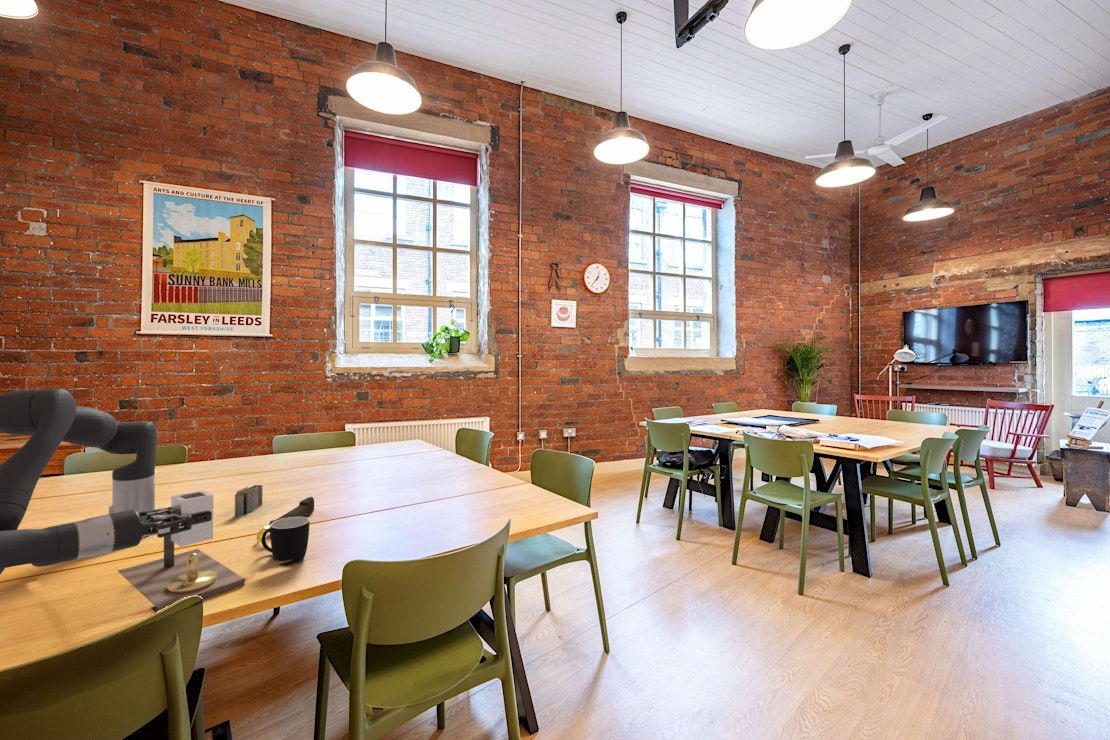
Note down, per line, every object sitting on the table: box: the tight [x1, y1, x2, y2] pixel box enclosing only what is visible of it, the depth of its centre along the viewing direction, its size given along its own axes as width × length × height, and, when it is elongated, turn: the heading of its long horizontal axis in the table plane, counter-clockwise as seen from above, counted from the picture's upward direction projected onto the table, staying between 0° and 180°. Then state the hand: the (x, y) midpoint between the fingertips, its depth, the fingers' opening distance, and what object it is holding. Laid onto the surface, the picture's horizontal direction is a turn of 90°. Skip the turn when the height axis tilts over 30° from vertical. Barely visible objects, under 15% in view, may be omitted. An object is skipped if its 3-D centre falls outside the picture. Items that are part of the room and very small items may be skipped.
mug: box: [261, 517, 310, 566], centre depth 123 cm, size 12×9×10 cm
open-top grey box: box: [170, 490, 214, 548], centre depth 106 cm, size 6×6×10 cm
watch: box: [256, 524, 271, 548], centre depth 131 cm, size 6×3×6 cm, turn 85°
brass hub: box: [167, 553, 217, 594], centre depth 107 cm, size 9×9×7 cm
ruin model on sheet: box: [234, 484, 263, 517], centre depth 161 cm, size 11×3×10 cm, turn 3°
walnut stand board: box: [117, 535, 246, 613], centre depth 111 cm, size 28×16×10 cm, turn 55°
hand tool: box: [268, 496, 315, 533], centre depth 151 cm, size 23×5×6 cm, turn 178°
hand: (204, 512), depth 108 cm, fingers closed on open-top grey box, 6 cm apart
